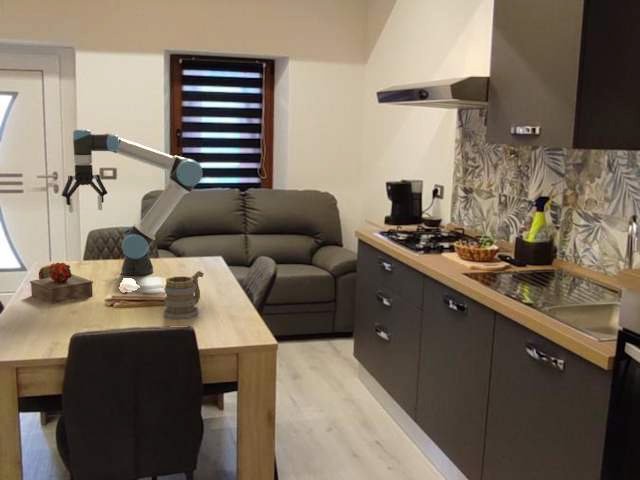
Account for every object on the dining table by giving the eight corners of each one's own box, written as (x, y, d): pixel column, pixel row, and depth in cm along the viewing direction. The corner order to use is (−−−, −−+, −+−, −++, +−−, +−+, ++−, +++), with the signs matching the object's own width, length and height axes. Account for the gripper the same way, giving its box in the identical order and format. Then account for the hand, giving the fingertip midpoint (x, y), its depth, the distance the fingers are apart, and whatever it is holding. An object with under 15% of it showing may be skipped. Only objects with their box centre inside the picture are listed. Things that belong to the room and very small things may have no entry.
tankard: (181, 321, 245) (180, 282, 242) (157, 315, 252) (155, 277, 249) (216, 308, 262) (216, 272, 259) (193, 303, 268) (192, 268, 266)
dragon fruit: (63, 281, 283) (62, 291, 272) (45, 271, 279) (44, 281, 268) (74, 265, 282) (74, 275, 272) (57, 255, 278) (56, 265, 268)
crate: (72, 289, 290) (71, 274, 289) (93, 297, 278) (92, 281, 277) (30, 297, 277) (29, 281, 276) (51, 305, 265) (50, 289, 263)
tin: (44, 286, 292) (43, 268, 291) (37, 286, 293) (36, 268, 291) (63, 279, 307) (62, 261, 305) (57, 278, 307) (56, 261, 306)
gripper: (106, 163, 305) (108, 208, 309) (52, 164, 289) (55, 212, 293) (113, 164, 300) (115, 209, 304) (58, 165, 284) (61, 214, 287)
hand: (85, 211), depth 298 cm, fingers open, 13 cm apart
